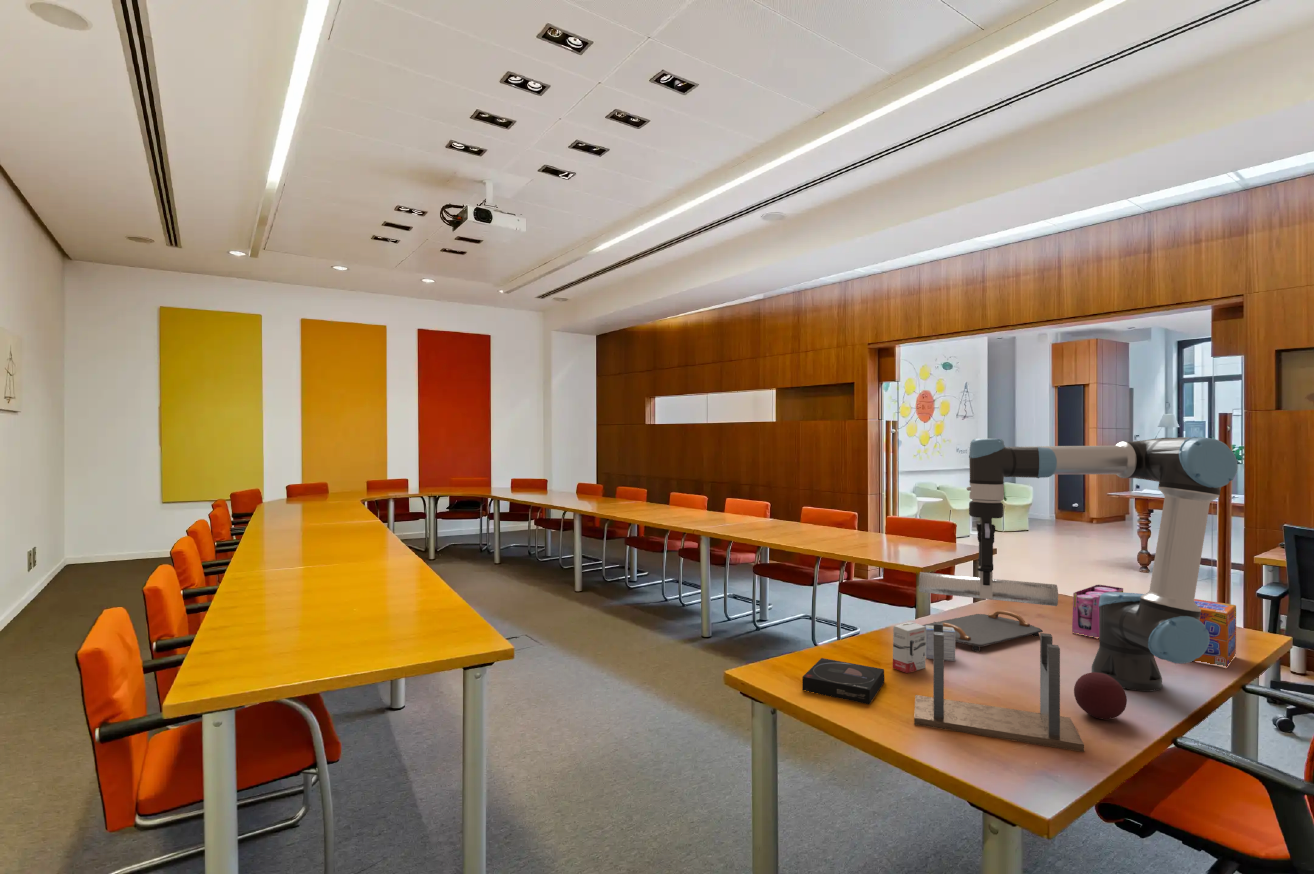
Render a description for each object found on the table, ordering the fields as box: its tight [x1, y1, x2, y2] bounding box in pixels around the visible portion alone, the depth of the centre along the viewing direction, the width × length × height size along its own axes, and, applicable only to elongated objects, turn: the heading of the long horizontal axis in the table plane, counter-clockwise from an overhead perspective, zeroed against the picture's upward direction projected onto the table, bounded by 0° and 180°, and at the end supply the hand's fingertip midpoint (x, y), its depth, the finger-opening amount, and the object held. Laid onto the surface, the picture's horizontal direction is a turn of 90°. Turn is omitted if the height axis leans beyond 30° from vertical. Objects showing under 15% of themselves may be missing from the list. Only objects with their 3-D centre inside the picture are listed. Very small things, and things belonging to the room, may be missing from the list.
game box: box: [1194, 598, 1237, 667], centre depth 190 cm, size 16×16×16 cm
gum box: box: [1071, 584, 1124, 637], centre depth 215 cm, size 24×8×14 cm, turn 127°
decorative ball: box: [1073, 672, 1128, 720], centre depth 147 cm, size 10×10×10 cm
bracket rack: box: [913, 621, 1085, 753], centre depth 143 cm, size 32×14×20 cm, turn 67°
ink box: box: [892, 621, 926, 674], centre depth 179 cm, size 8×5×12 cm, turn 123°
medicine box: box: [925, 625, 956, 662], centre depth 188 cm, size 8×4×9 cm, turn 71°
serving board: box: [921, 610, 1044, 652], centre depth 210 cm, size 39×23×6 cm, turn 120°
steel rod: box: [918, 571, 1059, 607], centre depth 158 cm, size 30×5×5 cm, turn 66°
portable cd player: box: [801, 657, 885, 705], centre depth 165 cm, size 16×17×4 cm
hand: (985, 595), depth 158 cm, fingers closed on steel rod, 5 cm apart
